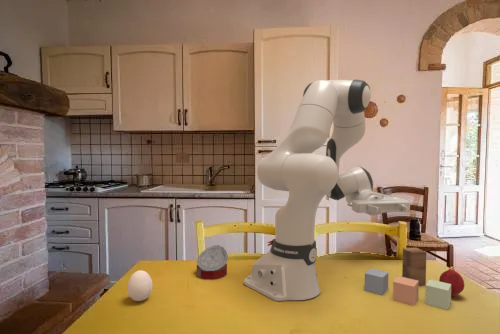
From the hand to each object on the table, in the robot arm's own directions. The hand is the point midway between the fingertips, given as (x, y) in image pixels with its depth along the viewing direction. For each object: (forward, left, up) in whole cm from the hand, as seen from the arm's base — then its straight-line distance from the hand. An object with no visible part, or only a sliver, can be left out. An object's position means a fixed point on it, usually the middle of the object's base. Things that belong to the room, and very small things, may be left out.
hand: (392, 209), depth 105 cm
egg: (-44, -67, -20) cm, 83 cm away
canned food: (-43, -42, -20) cm, 64 cm away
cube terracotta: (+10, -21, -20) cm, 31 cm away
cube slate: (+2, -20, -20) cm, 29 cm away
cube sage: (+17, -18, -20) cm, 32 cm away
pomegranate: (+19, -11, -20) cm, 30 cm away
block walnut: (+9, -8, -20) cm, 23 cm away
